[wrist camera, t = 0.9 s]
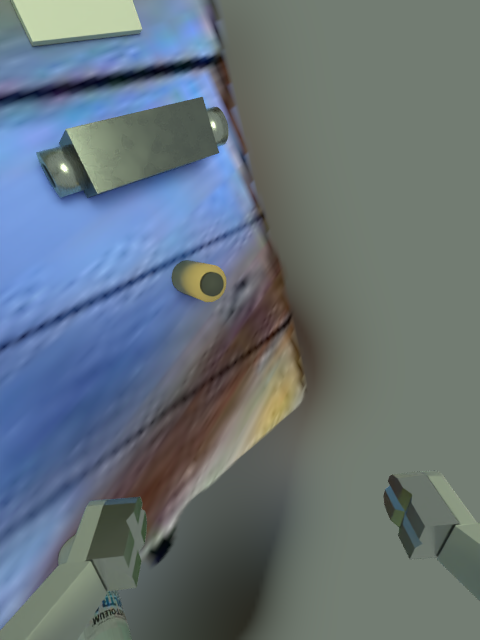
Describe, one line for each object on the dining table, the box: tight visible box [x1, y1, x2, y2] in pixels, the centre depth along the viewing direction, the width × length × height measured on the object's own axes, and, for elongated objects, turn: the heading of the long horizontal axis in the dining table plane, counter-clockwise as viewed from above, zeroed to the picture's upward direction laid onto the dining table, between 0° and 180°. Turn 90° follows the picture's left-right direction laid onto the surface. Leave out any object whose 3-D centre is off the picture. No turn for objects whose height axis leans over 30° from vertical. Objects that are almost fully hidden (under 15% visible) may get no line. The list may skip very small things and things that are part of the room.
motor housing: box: [37, 97, 228, 198], centre depth 36 cm, size 22×6×6 cm, turn 111°
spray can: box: [58, 535, 132, 640], centre depth 39 cm, size 6×6×20 cm
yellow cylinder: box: [172, 260, 226, 302], centre depth 44 cm, size 5×5×8 cm
